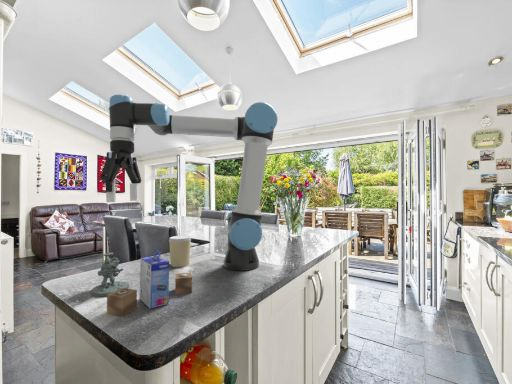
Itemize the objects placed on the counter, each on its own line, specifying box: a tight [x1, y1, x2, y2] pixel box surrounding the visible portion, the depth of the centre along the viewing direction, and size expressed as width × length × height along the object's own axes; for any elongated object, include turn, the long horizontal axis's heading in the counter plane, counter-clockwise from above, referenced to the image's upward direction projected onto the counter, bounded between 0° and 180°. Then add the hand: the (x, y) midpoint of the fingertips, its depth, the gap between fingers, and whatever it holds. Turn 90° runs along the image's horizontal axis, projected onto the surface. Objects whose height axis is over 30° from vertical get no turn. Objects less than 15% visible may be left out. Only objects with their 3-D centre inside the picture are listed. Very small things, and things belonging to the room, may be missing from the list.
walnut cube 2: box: [174, 271, 193, 296], centre depth 81 cm, size 5×5×5 cm
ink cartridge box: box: [138, 249, 170, 309], centre depth 73 cm, size 10×6×14 cm, turn 41°
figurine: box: [90, 251, 130, 298], centre depth 82 cm, size 11×11×12 cm
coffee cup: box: [168, 235, 192, 268], centre depth 110 cm, size 9×9×12 cm
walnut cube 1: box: [106, 288, 138, 317], centre depth 68 cm, size 5×5×5 cm
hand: (123, 201), depth 89 cm, fingers open, 13 cm apart
